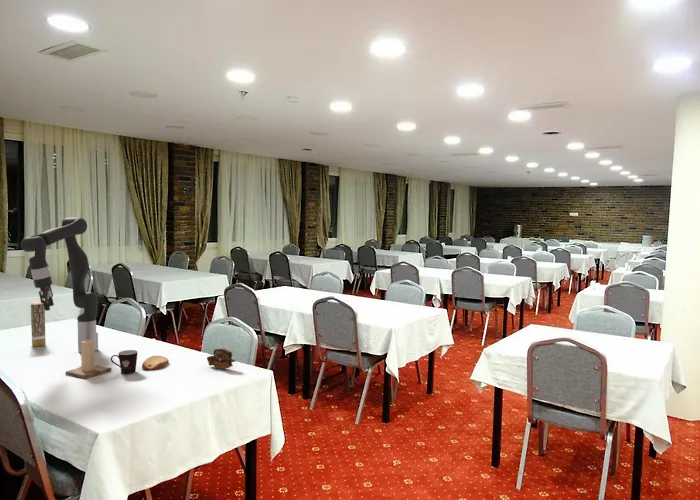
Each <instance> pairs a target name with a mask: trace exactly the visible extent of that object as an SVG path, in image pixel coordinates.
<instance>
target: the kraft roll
mask: <svg viewBox="0 0 700 500" xmlns="http://www.w3.org/2000/svg"><path fill="white" fill-rule="evenodd" d="M80 353H81V355H80V356H81V367H82V371H85V372H86V371H92V370H94V369H95V365H96V362H95V361H96V360H95V357H96V356H95V351H94V340H85V341H82V342H81V352H80Z"/></svg>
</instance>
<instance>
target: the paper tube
mask: <svg viewBox="0 0 700 500" xmlns="http://www.w3.org/2000/svg"><path fill="white" fill-rule="evenodd" d="M45 313H46V311H45V309H44V305H43V303H41V301H33V302H30V319H31V322H30V323H31V324H30V325H31V345H32V346H33V347H41V346H45V345H46V344H47V343H46V342H47V341H46V314H45Z"/></svg>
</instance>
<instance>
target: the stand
mask: <svg viewBox="0 0 700 500" xmlns="http://www.w3.org/2000/svg"><path fill="white" fill-rule="evenodd" d="M111 371H112V367H108V366H104V365H98V364H95V369H94V370H92V371H86V372H85V371H82V366H80V367H76V368H73V369H69V370H65V375H66V376H70V377H74V378H75V377H76V378H79V379H84V380H86V379H89V378H93V377H96V376H99V374H100V375H102V374H105V373H108V372H109V373H110V372H111Z"/></svg>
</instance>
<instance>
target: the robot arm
mask: <svg viewBox="0 0 700 500" xmlns="http://www.w3.org/2000/svg"><path fill="white" fill-rule="evenodd" d="M87 229H88V223H87V221H86V219H84V218H82V217H65V218H63V219H62V221H61V226H59V227H54V228H51V229H47V230H45V231H43V232H41V233H38V234H33V235H29V236H27V237H24V238H22V240H21V242H20V248H21V250H23V252H28V253H31V252H34V255H33V256H31V257H29V259H28V262H29V263H28V264H29V266H30V271H31V277H32V280H33V285H34V288H36V289H39V291H38V296H39V299H40V302H41V303H43V305H44V309H45V312H46V311H50V310H51V307H53V306H54V305H55V304H54V300H53V296H54V293H53V290H52V285H53V280H52V276H51V272H50V269H49V267H48V263H47V259H46V255H47V247H48V246H51V245H53V244H55V243H58V242H59V241H62V240H64V241H65V246H66V250H67V256H68V264H69V270H70V275H71V282H72V299H73V301H72V302H73V304H74V306H75V307H76V308H79V309H83V313H81V314H79V315H77V319H76V320H77V349H78V350H77V351H78V352H79V353H81V342H82V341H85V340H94V352H95V351H97V350H98V349H99V332H98V331H97V316H98V307H99V306H98V301H99V300H98V295H97V294H96V293H95V292H93V291H92V292H90V291H86V288H85V280H86V278H87V276H88V273H89V269H90V267H89V258H88V256H87V254H86V252H85V251H84V250H83V248H82V247H81V246H80V244H79V243H78V241H77V237H76V236H79V235H82V234H84V233H86V231H87Z"/></svg>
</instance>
